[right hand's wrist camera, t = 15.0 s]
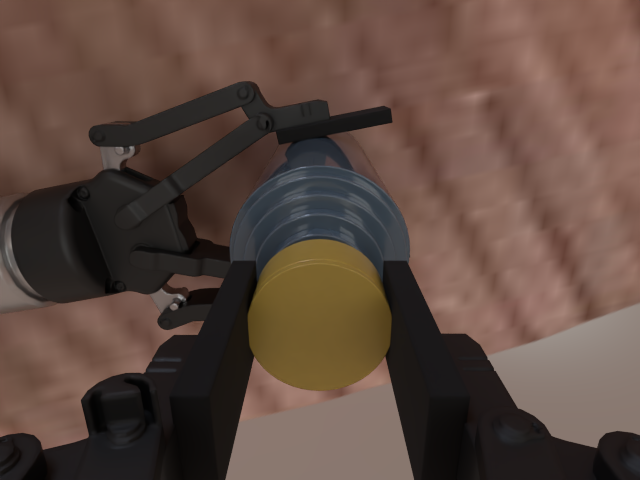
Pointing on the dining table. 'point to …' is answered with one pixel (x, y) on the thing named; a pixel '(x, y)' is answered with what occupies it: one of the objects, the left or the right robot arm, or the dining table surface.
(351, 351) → the cap
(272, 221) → the bottle
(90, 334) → the dining table surface
